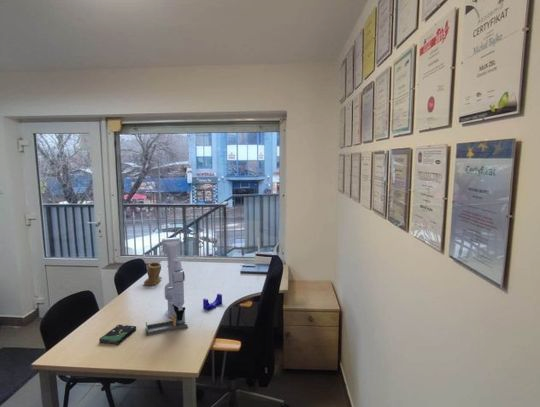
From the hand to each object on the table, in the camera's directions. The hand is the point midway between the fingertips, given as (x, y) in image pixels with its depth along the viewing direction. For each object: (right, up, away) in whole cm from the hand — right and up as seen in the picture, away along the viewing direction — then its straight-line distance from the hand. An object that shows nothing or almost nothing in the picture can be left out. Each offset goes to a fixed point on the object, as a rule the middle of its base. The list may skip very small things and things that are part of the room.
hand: (178, 318), depth 168 cm
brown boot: (-38, +2, +67) cm, 76 cm away
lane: (-6, -5, -2) cm, 8 cm away
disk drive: (-27, -6, -10) cm, 30 cm away
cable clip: (+14, -2, +25) cm, 29 cm away
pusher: (-2, -4, -1) cm, 4 cm away
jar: (+1, -3, 0) cm, 3 cm away
